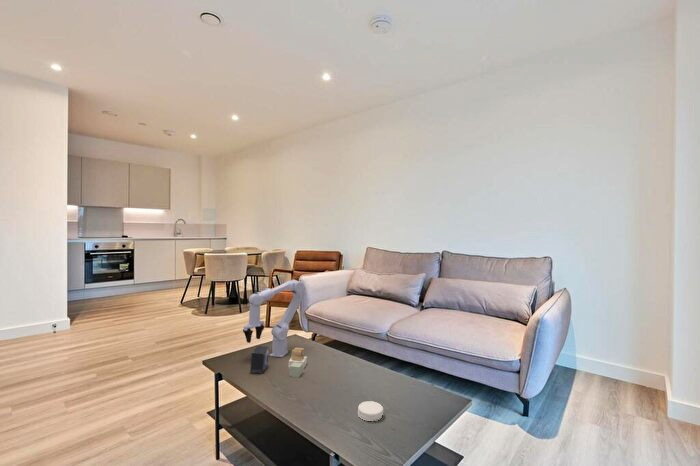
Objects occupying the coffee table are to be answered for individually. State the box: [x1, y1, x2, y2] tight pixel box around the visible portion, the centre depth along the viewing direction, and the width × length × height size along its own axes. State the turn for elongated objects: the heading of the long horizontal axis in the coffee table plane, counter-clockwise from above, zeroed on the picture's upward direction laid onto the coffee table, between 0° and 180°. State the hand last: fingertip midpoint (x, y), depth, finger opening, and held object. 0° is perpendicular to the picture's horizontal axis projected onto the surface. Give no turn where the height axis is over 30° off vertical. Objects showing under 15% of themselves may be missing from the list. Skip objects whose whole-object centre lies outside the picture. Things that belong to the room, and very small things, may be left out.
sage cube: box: [289, 362, 304, 378], centre depth 165 cm, size 5×5×5 cm
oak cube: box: [291, 347, 305, 361], centre depth 176 cm, size 5×5×5 cm
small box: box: [249, 345, 270, 375], centre depth 169 cm, size 11×6×10 cm, turn 179°
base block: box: [288, 355, 308, 370], centre depth 176 cm, size 8×8×4 cm
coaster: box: [357, 400, 384, 421], centre depth 130 cm, size 10×10×4 cm
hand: (253, 340), depth 182 cm, fingers open, 7 cm apart
